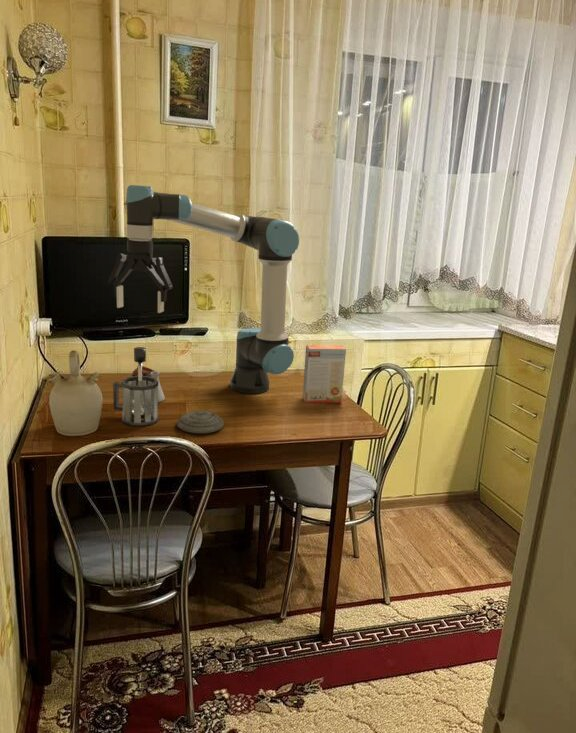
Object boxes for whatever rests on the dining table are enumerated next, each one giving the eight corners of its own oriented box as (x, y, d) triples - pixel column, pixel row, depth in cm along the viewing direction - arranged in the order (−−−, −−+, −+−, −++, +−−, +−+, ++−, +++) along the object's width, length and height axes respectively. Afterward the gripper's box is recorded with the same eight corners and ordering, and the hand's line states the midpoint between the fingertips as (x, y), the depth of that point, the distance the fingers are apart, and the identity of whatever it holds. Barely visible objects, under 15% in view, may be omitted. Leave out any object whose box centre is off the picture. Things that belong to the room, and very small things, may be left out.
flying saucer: (174, 419, 199) (174, 404, 197) (219, 417, 203) (219, 402, 201) (179, 438, 185) (179, 421, 183) (227, 435, 189) (228, 419, 188)
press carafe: (164, 416, 200) (164, 378, 197) (148, 428, 190) (148, 389, 186) (123, 409, 204) (123, 372, 200) (105, 421, 193) (105, 382, 189)
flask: (149, 395, 219) (149, 368, 216) (168, 397, 218) (168, 371, 215) (140, 401, 212) (140, 374, 209) (160, 404, 211) (160, 377, 208)
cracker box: (337, 397, 230) (343, 344, 224) (341, 403, 224) (347, 349, 218) (301, 397, 227) (305, 343, 221) (304, 403, 222) (309, 348, 216)
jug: (41, 436, 179) (37, 355, 172) (63, 417, 194) (59, 342, 186) (92, 441, 178) (90, 360, 171) (110, 421, 193) (108, 346, 186)
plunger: (157, 408, 198) (158, 347, 192) (146, 417, 191) (146, 353, 185) (134, 404, 200) (134, 343, 194) (121, 413, 192) (121, 350, 186)
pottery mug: (124, 384, 230) (131, 363, 232) (146, 392, 235) (153, 372, 237) (135, 385, 220) (143, 364, 222) (158, 394, 225) (165, 373, 227)
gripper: (184, 242, 181) (183, 311, 187) (108, 235, 186) (109, 303, 192) (173, 244, 174) (172, 316, 180) (95, 236, 179) (97, 307, 185)
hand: (140, 309), depth 186 cm, fingers open, 13 cm apart
